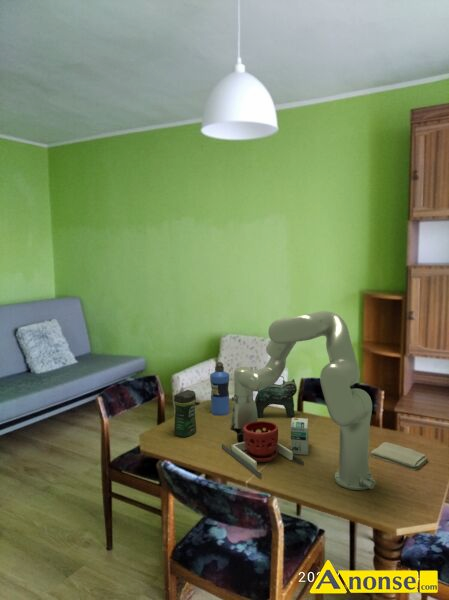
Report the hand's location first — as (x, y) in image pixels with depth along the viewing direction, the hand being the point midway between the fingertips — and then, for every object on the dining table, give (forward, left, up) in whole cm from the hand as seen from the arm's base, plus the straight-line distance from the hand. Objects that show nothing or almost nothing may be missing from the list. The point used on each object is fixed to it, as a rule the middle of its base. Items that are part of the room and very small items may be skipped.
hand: (244, 441), depth 178 cm
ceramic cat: (+19, -29, -2) cm, 35 cm away
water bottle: (+38, -9, -1) cm, 39 cm away
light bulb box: (-14, -17, -2) cm, 22 cm away
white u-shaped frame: (-10, 0, -1) cm, 10 cm away
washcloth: (-39, -44, -2) cm, 59 cm away
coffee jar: (+23, +16, -1) cm, 28 cm away
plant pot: (-12, 0, -2) cm, 12 cm away
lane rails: (-12, 0, -1) cm, 12 cm away
